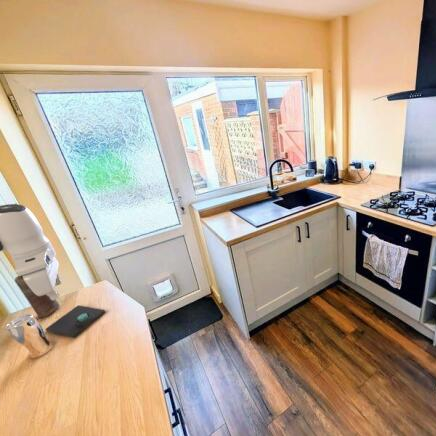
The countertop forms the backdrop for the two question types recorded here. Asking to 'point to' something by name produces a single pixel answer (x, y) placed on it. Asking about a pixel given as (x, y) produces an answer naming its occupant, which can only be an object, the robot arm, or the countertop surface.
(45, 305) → the candle
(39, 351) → the beer glass
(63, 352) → the countertop surface
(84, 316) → the button
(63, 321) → the scale
